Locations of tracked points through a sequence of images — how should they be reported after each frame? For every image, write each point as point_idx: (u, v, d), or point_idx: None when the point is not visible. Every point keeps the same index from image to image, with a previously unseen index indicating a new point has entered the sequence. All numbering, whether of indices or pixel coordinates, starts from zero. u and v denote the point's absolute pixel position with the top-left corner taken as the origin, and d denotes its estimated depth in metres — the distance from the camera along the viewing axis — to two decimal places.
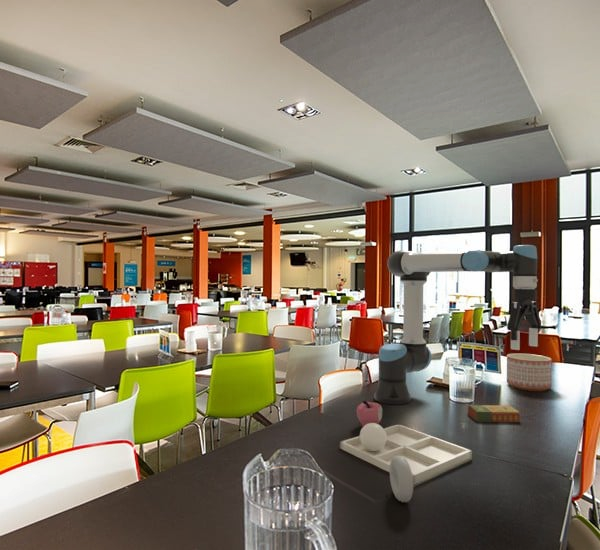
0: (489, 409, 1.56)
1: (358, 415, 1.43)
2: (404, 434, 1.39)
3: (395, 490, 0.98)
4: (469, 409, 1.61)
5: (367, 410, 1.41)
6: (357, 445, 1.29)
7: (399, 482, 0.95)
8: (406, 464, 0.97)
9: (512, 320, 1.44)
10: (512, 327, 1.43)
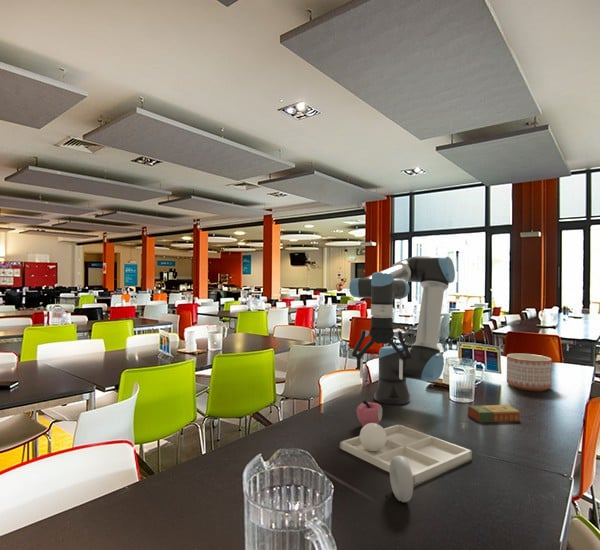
0: (490, 409, 1.56)
1: (358, 415, 1.43)
2: (404, 434, 1.39)
3: (395, 490, 0.98)
4: (469, 410, 1.60)
5: (367, 410, 1.41)
6: (357, 445, 1.29)
7: (399, 482, 0.95)
8: (406, 464, 0.97)
9: (355, 347, 1.46)
10: (352, 354, 1.45)
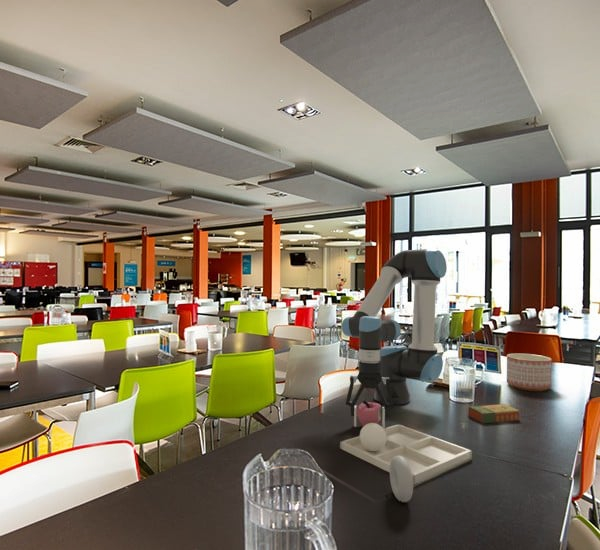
0: (491, 410, 1.56)
1: (358, 415, 1.43)
2: (404, 434, 1.39)
3: (395, 490, 0.98)
4: (470, 411, 1.59)
5: (367, 410, 1.41)
6: (357, 445, 1.29)
7: (399, 482, 0.95)
8: (406, 464, 0.97)
9: (347, 395, 1.46)
10: (346, 402, 1.46)
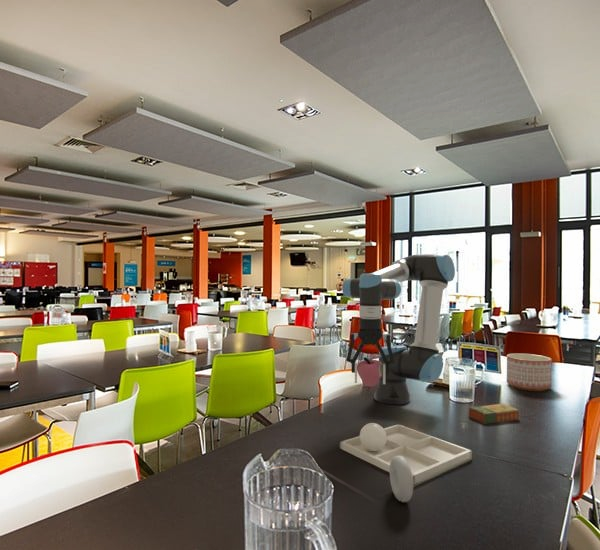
0: (492, 410, 1.55)
1: (359, 371, 1.43)
2: (404, 434, 1.39)
3: (395, 490, 0.98)
4: (471, 412, 1.58)
5: (368, 366, 1.42)
6: (357, 445, 1.29)
7: (399, 482, 0.95)
8: (406, 464, 0.97)
9: (348, 352, 1.46)
10: None
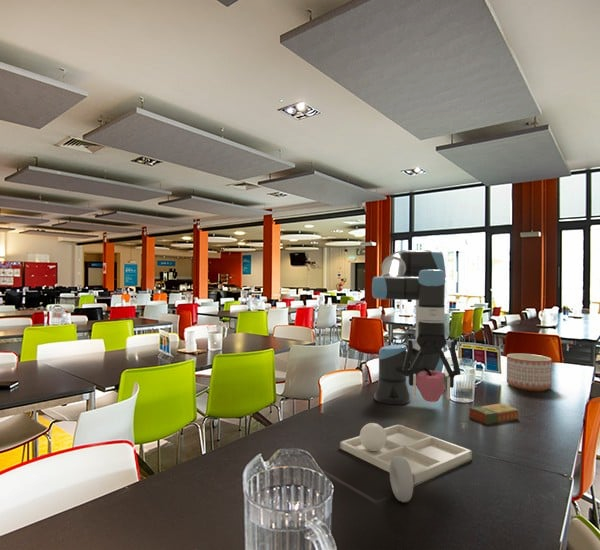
0: (493, 410, 1.55)
1: (418, 384, 1.22)
2: (404, 434, 1.39)
3: (395, 490, 0.98)
4: (472, 412, 1.57)
5: (430, 377, 1.21)
6: (357, 445, 1.29)
7: (399, 482, 0.95)
8: (406, 464, 0.97)
9: (404, 361, 1.25)
10: (403, 370, 1.25)
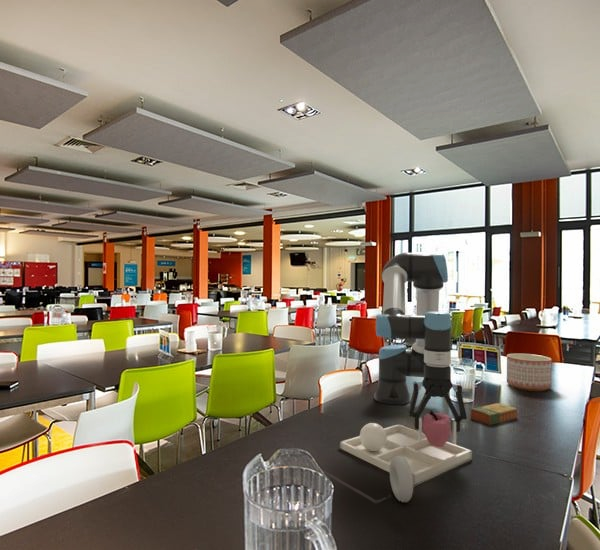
0: (494, 410, 1.55)
1: (424, 429, 1.21)
2: (404, 434, 1.39)
3: (395, 490, 0.98)
4: (474, 413, 1.56)
5: (436, 423, 1.19)
6: (357, 445, 1.29)
7: (399, 482, 0.95)
8: (406, 464, 0.97)
9: (410, 405, 1.24)
10: (408, 413, 1.23)
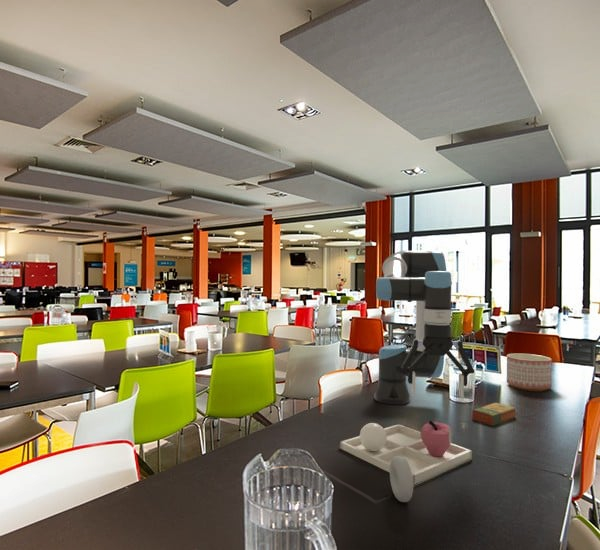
0: (495, 410, 1.55)
1: (424, 438, 1.21)
2: (404, 434, 1.39)
3: (395, 490, 0.98)
4: (475, 414, 1.55)
5: (435, 433, 1.19)
6: (357, 445, 1.29)
7: (399, 482, 0.95)
8: (406, 464, 0.97)
9: (405, 360, 1.24)
10: (402, 367, 1.24)
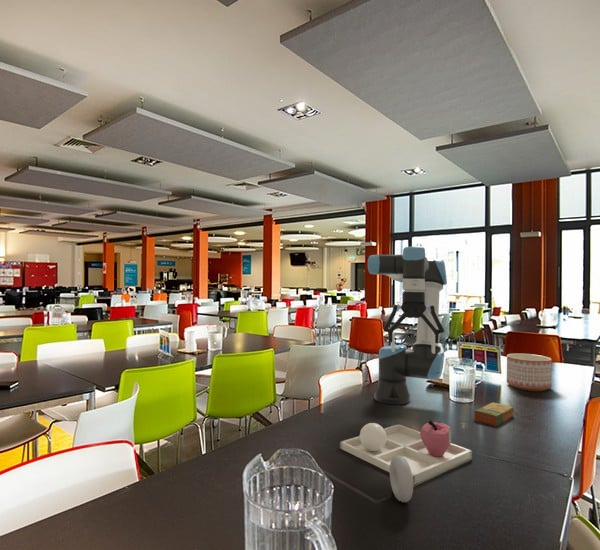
0: (496, 410, 1.55)
1: (424, 438, 1.21)
2: (404, 434, 1.39)
3: (395, 490, 0.98)
4: (478, 415, 1.54)
5: (435, 433, 1.19)
6: (357, 445, 1.29)
7: (399, 482, 0.95)
8: (406, 464, 0.97)
9: (386, 322, 1.46)
10: (383, 328, 1.46)
